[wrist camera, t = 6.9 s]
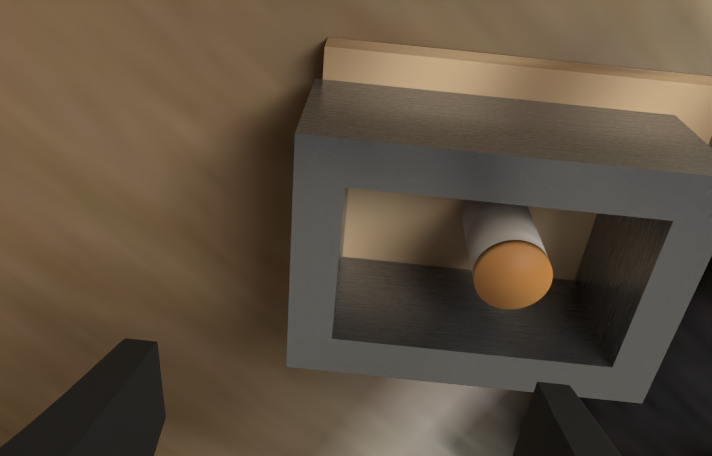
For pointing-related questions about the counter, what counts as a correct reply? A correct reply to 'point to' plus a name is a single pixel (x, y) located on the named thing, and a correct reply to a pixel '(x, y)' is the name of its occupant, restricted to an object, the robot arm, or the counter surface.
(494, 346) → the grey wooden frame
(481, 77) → the board
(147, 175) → the counter surface
